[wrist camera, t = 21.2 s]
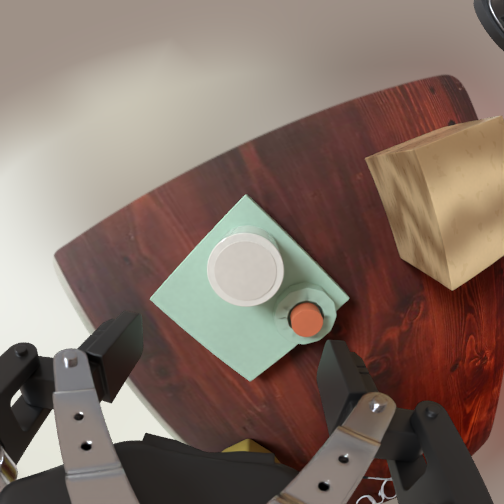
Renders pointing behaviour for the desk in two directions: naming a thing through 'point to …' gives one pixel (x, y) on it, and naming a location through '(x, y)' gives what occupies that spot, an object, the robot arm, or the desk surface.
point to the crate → (446, 198)
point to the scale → (255, 317)
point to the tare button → (306, 319)
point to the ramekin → (246, 266)
